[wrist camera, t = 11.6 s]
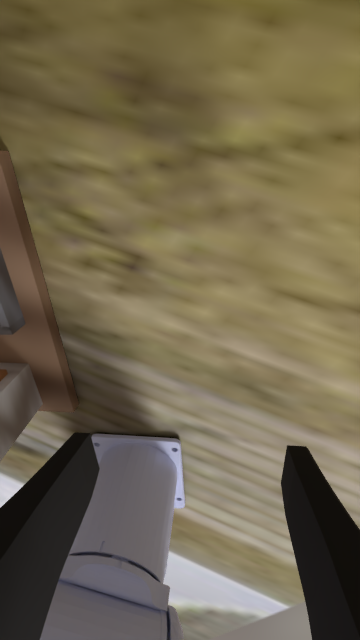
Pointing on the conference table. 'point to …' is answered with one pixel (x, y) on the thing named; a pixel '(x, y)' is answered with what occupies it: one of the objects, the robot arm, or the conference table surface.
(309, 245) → the conference table surface
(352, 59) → the conference table surface
